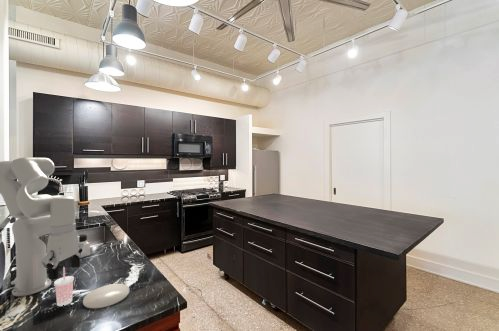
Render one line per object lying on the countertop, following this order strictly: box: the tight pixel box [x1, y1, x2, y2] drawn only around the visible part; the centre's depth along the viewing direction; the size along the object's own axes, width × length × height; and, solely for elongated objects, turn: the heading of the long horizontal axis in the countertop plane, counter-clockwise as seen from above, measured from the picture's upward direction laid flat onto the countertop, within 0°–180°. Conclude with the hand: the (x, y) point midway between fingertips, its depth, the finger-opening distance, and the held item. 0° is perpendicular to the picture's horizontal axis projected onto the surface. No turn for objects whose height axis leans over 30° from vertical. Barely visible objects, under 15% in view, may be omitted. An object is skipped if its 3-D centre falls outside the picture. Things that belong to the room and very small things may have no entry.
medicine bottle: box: [78, 233, 91, 259], centre depth 137 cm, size 7×7×12 cm
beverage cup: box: [53, 266, 75, 307], centre depth 91 cm, size 6×6×14 cm
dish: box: [82, 283, 130, 309], centre depth 95 cm, size 16×16×1 cm
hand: (65, 272), depth 91 cm, fingers open, 9 cm apart
